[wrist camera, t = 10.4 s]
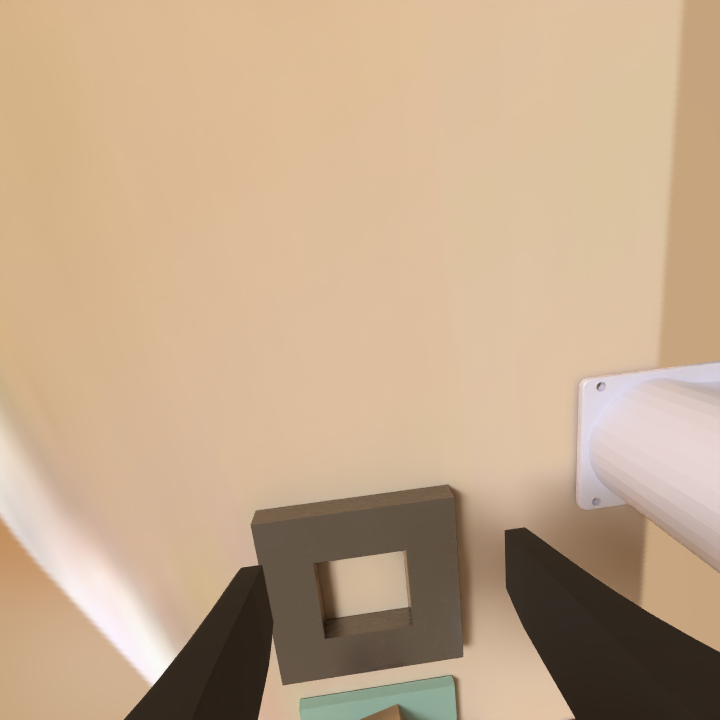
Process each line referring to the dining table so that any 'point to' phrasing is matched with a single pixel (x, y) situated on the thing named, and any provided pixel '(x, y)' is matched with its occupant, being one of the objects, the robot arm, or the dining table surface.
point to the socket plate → (356, 539)
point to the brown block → (387, 714)
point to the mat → (387, 701)
